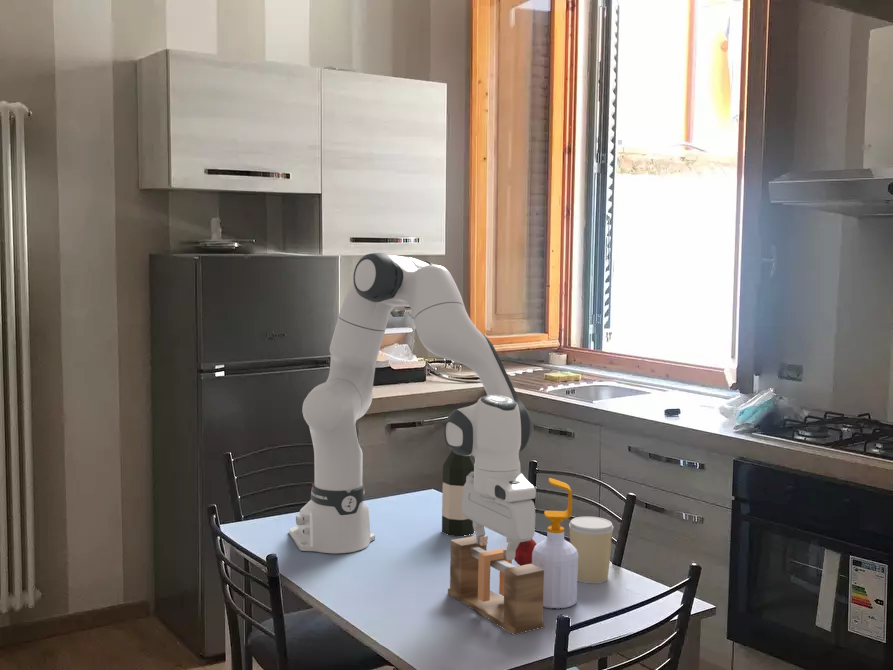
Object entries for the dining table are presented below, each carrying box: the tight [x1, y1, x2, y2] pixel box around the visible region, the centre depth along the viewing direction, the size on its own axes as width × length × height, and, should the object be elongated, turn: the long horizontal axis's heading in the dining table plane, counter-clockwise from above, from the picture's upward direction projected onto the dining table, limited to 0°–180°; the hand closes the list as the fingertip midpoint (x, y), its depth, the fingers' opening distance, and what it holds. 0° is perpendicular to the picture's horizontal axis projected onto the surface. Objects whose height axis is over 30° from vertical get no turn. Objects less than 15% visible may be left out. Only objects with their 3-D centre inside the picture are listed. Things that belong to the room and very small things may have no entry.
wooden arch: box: [478, 547, 513, 602], centre depth 183 cm, size 2×6×9 cm, turn 121°
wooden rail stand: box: [447, 535, 546, 635], centre depth 183 cm, size 23×7×11 cm, turn 31°
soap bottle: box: [532, 477, 578, 610], centre depth 187 cm, size 9×9×25 cm
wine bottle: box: [441, 450, 475, 537], centre depth 231 cm, size 8×8×30 cm
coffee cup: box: [568, 515, 614, 584], centre depth 202 cm, size 9×9×12 cm
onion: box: [513, 538, 538, 566], centre depth 207 cm, size 6×6×8 cm
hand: (495, 551), depth 182 cm, fingers open, 8 cm apart
